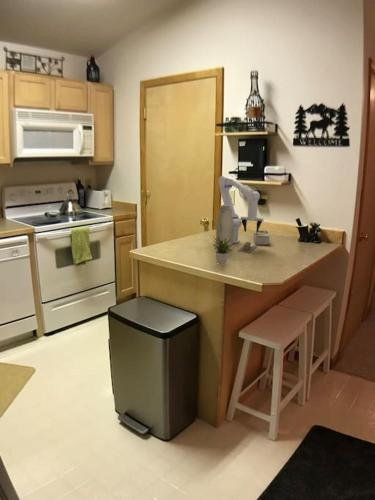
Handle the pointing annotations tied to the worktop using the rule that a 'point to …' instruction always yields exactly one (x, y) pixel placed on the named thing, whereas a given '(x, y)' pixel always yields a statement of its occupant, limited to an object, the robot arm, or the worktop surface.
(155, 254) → the worktop surface
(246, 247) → the spatula
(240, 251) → the mat
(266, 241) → the coffee box
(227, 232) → the grey rounded cylinder
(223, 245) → the house plant
